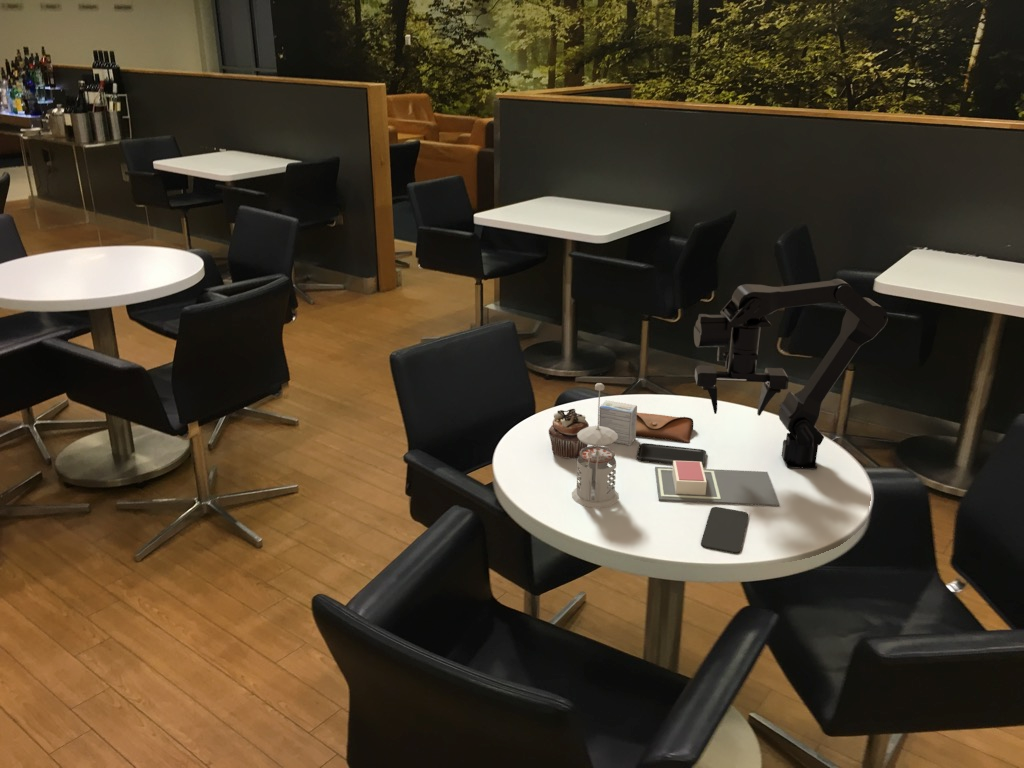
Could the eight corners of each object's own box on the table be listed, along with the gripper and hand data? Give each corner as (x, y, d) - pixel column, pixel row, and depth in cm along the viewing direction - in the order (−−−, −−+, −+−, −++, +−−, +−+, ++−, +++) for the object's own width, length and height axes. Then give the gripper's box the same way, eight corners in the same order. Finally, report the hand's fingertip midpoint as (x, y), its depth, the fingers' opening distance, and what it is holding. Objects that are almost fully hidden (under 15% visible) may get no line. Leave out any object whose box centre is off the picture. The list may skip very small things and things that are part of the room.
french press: (621, 486, 178) (627, 376, 168) (615, 514, 167) (621, 398, 158) (575, 481, 180) (578, 372, 170) (566, 509, 169) (569, 394, 160)
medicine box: (636, 438, 199) (638, 405, 196) (630, 446, 195) (632, 412, 192) (604, 432, 202) (605, 399, 199) (597, 440, 198) (599, 406, 195)
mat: (767, 473, 183) (767, 471, 183) (779, 506, 170) (779, 504, 170) (654, 468, 185) (655, 466, 185) (658, 500, 172) (658, 498, 172)
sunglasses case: (614, 435, 200) (617, 407, 201) (617, 438, 207) (619, 411, 208) (691, 443, 196) (694, 415, 197) (691, 446, 203) (694, 418, 204)
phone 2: (640, 442, 195) (706, 449, 192) (639, 447, 196) (706, 454, 192) (636, 457, 188) (704, 465, 185) (635, 462, 189) (704, 470, 185)
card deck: (705, 495, 174) (706, 481, 172) (675, 493, 174) (676, 480, 173) (700, 474, 182) (701, 461, 181) (672, 472, 182) (673, 459, 181)
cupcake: (599, 452, 192) (600, 412, 188) (565, 464, 187) (566, 423, 183) (572, 437, 200) (573, 398, 196) (539, 448, 194) (540, 408, 191)
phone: (699, 545, 156) (711, 505, 169) (699, 549, 157) (711, 509, 170) (740, 553, 154) (749, 512, 167) (740, 556, 154) (749, 516, 167)
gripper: (782, 334, 183) (774, 400, 189) (695, 332, 185) (689, 397, 191) (793, 352, 173) (783, 421, 179) (700, 349, 175) (694, 418, 181)
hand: (736, 413), depth 183 cm, fingers open, 9 cm apart
